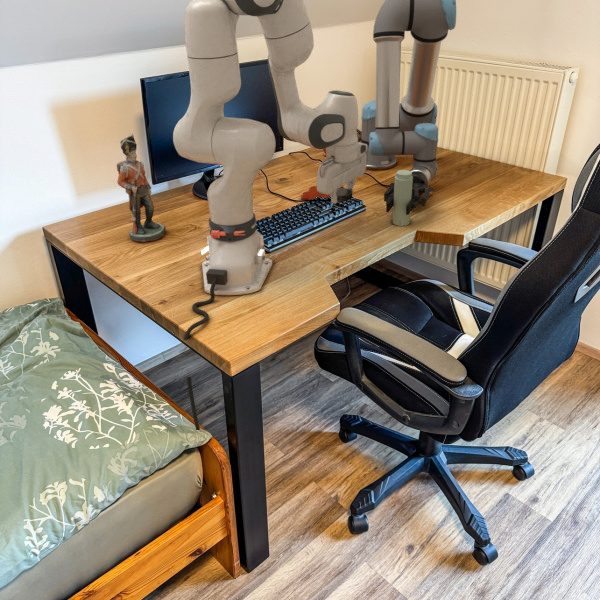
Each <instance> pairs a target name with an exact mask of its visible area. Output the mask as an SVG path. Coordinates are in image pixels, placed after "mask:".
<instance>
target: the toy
mask: <svg viewBox="0 0 600 600" xmlns="http://www.w3.org/2000/svg"><path fill="white" fill-rule="evenodd" d="M322 151H323V153H324V154H323V155H322V157H324V158H326V148H325V149H322ZM340 188H345V187H344V186H342V187H340ZM318 196H321V197H323V198H326V197H329V196H330V195H329V194H328V195H326V194H322V193H319V192H318V191H317V185H316V186H311V187H309V188H308V190H307V191H304V192H302V195H301V196H300V199H301V200H302V201H310V200H311V199H314V198H316V197H318Z"/></svg>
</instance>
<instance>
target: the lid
mask: <svg viewBox="0 0 600 600" xmlns="http://www.w3.org/2000/svg"><path fill="white" fill-rule="evenodd" d="M336 195H337V196H338V197H339V199H338V200H339V201H338V202H347V201H350V200H352V198H353V193H352V190H350V189H347V188H346V187H344V188H338V189H337V192H336Z"/></svg>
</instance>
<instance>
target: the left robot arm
mask: <svg viewBox="0 0 600 600" xmlns="http://www.w3.org/2000/svg"><path fill="white" fill-rule="evenodd" d="M240 16H250V17H256V18H257V19H258V22H259V23H260V28H261V31H262V34H263V37H264V41H265V44H266V48H267V53H268V55H267V66H268V73H269V77H270V82H271V86H272V91H273V95H274V99H275V103H276V111H277V116H276V117H277V119H276V122H277V129H278V132H279V134H280V136H281V137H282V138H283V139H284V140H286V141H289V142H292V143H293V142H294V143H298V144H300V145H304V146H306V147H310V148H313V149H316V150H323V149H325V148H326V154H325V155H326V157H325V159H324V160H322V161H321V164H320V165H319V167H318V169H317V173H316V186H317V191H318V192H319V193H322V194H326V195H328V194H329V195H330V197H331V201H330V203H331V204H333V205H336V204H338V203H339V202H340V201H339V200H338V199H339V197H338V196H337V195H336V192H337V189H338V188H340V187H344V186H345V185H346V187H345V188H347V189H350V190H352V194H353V192H354V187H355V184H356V179H357V178H359V177H361V176H363V175H365V173H366V170H367V169H366V160H367V156H366V151H367V144H364V143H361V141H358V138H359V137H358V132H357V129H358V128H359V105H358V100H357V98H356V95H355V94H353V93H352V92H350V91H344V90H329V91H328V92H327V94H326V97H325V98H324V100H323V101H321V102H320V103H319V105H317V106H316V107H310V106H308V105H306V104H305V103H303V102H302V100H301V99H300V97H299V96H300V95H299V90H298V86H297V80H296V74H295V71H296V70H295V69H296V68H299V66H301V65H302V64H304V63H306V61H308V59H309V58H310V57H311V54H312V53H313V50H314V47H315V46H314V45H315V42H314V41H315V40H314V32H313V29H312V26H311V25H312V24H311V21H310V18H309V15H308V11H307V8H306V5H305V2H304V0H191V1H190V2H188V4H187V5H186V7H185V10H184V40H185V42H184V43H185V50H186V59H187V65H188V72H189V82H190V100H189V104H188V107H187V110H186V112H185V114H184V115H183V116H182V117H181V118H180V119H179V120H178V122H177V123H176V124H175V127H174V129H173V132H172V133H173V134H172V142H173V146H174V148H175V150H176V152H177V154H178V156H180V157H182V158H184V159H186V160H190V161H193V162H195V163H201V164H209V165H211V164H212V165H220V166H222V169H223V171H222V172H223V174H222V176H220V177H218V178H217V179H215V180H213V181H212V182H211V183H210V185H209V187H208V189H207V191H206V195H207V203H208V212H209V218H208V229H209V234H208V235H207V236H206V243H207V246H206V247H205V248H204V249H202V250H201V251H200V252H201V255H204V254H205V253H207V252H208V255H206V256H205V260H204V261H203V262H202V263H201V268H202V278H203V290H204V292H205V293H207V294H210V298H209V299H207V300H204V301H197V302H194V303H193V304H192V306H191V309H192V310H193V312H195V313H197V314H200V315H202V316H204V318H202V319H201V320H199V321H195V322H194V323H193V324H191V325H190V326H189V327H188V328H187V330H186V331H185V333H184V338H183V341H187V340H189V338H190V334H191V333H192V331H194V330H195V329H196V328H198V327H200V326H202V325H204V324H205V323H207V322H208V321H209V318H210V316H209V313H208V312H206V311H205V310H203V309H200V308H198V307H202V306H207V305H209V304H212V303H213V302H214V300H215V298H216V296H239V295H240V296H241V295H249V294H253V293H256V292H259V291H260V290H261V288H262V287H263V286H264V283H265V280H266V278H267V276H268V274H269V273H270V271H271V268H272V266H273V265H274V264H273V260H272V259H271V258H268V257H266V249H265V242H264V235H263V234H262V233H260V232H259V231H258V230H257V218H256V214H255V212H254V200H253V188H254V183H255V179H256V177H257V175H258V173H259V171H261V170H262V168H264V167H265V166H266V165H268V163H269V162H271V161H272V158H273V157H274V155H275V152H276V146H277V145H276V142H277V141H276V138H275V137H276V136H275V134H274V132H273V130H272V128H271V127H270V126H269V124H267V123H264V122H261V121H258V120H254V119H251V118H241V117H227V116H225V114H224V106H225V104H226V103H229V102H230V101H231V100H233V99H235V97H237V95H238V94H239V92H240V90H241V87H242V80H241V79H242V78H241V69H240V59H239V52H238V43H237V37H236V34H237V33H236V31H237V25H238V24H237V23H238V22H239V21H238V20H239V19H240ZM186 381H187V389H188V395H189V402H190V406H191V412H192V417H193V422H194V426H195V431H196V430H200V429H201V428H200V424H199V417H198V414H197V408H196V402H195V396H194V389H193V383H192V377H191V376H187V377H186ZM200 431H201V430H200Z"/></svg>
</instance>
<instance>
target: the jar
mask: <svg viewBox="0 0 600 600" xmlns="http://www.w3.org/2000/svg"><path fill="white" fill-rule="evenodd" d="M395 174H396V175H395V176H394V182H393V183H394V202H393V207H392V224H393V225H395V226H401V227H402V226H403V227H404V226H407V225H409V224H410V223H411V213H410V214H409V215H406V207H407V205H408V203H409V202H410V200H411V199H412V198H413V197H412V183H413V177H412V172H411V170H407V169H399V170H397V171H396V173H395Z"/></svg>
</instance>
